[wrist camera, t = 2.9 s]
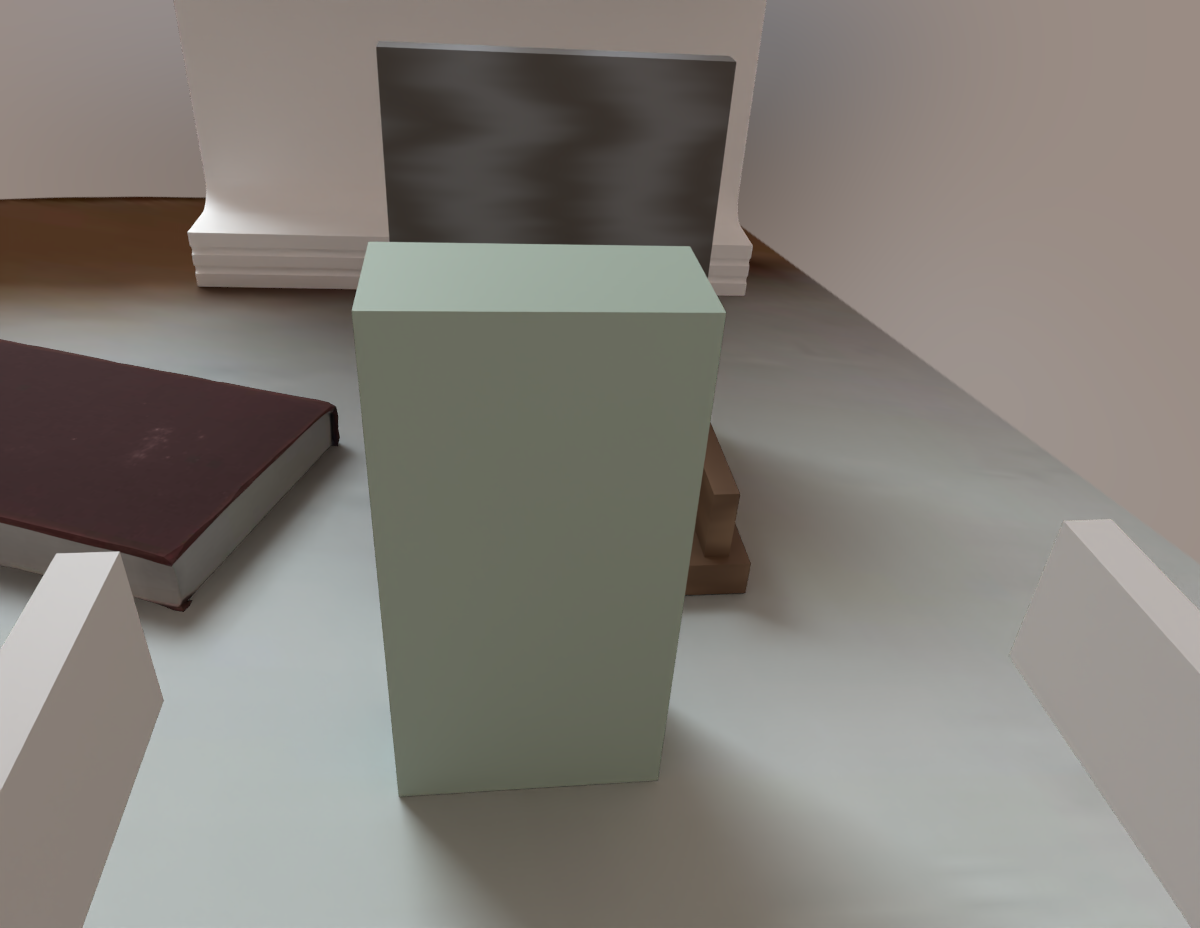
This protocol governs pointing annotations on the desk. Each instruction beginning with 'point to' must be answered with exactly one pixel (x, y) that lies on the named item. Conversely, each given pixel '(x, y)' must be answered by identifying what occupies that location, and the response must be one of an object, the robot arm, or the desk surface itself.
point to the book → (143, 465)
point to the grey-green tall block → (532, 500)
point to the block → (353, 119)
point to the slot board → (567, 179)
